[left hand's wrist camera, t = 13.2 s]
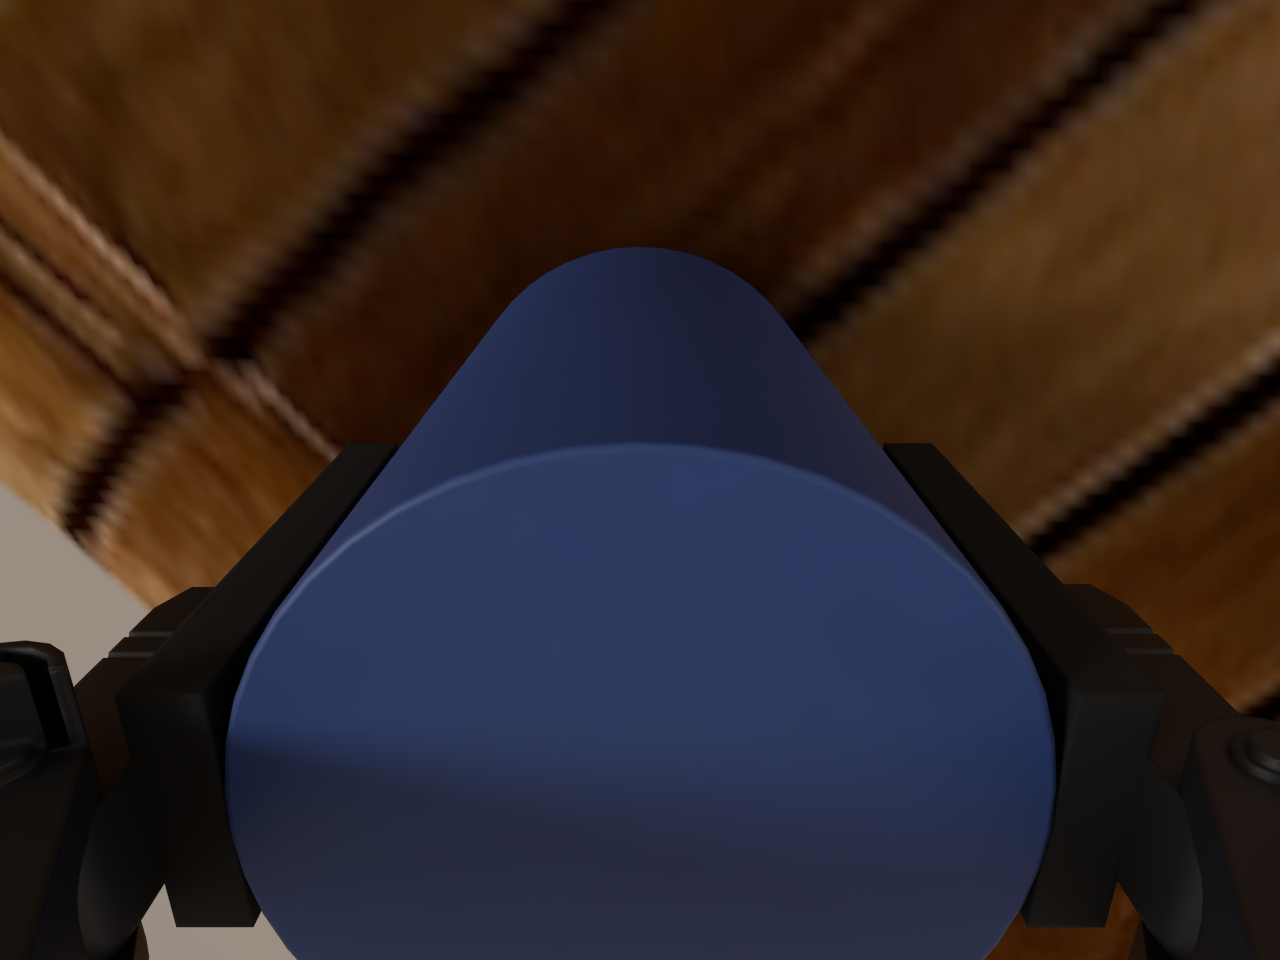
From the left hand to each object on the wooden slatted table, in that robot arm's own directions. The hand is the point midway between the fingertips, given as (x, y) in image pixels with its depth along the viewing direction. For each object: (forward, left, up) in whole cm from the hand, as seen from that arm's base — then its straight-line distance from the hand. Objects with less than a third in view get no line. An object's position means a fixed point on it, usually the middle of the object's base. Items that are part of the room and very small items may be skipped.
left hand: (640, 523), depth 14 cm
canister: (0, 0, -6) cm, 6 cm away
